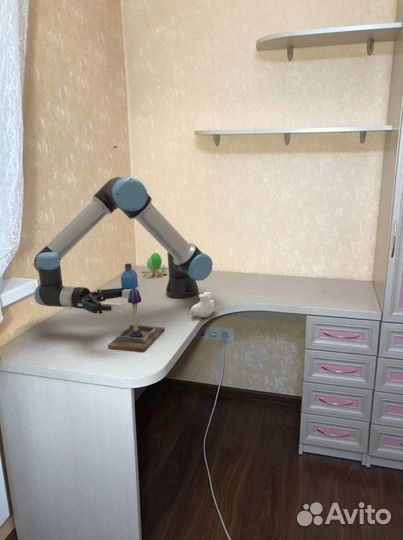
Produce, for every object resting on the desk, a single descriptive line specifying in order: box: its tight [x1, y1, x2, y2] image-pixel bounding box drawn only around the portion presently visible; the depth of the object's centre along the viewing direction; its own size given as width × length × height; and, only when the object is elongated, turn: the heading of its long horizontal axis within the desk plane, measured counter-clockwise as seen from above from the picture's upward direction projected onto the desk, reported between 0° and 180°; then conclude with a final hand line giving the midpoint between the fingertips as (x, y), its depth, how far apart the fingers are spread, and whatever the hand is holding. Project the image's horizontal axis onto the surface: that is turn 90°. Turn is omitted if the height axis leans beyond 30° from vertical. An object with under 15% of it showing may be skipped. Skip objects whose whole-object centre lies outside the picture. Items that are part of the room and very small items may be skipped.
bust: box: [189, 291, 216, 318], centre depth 160 cm, size 12×8×11 cm
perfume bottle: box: [120, 263, 139, 289], centre depth 200 cm, size 6×6×12 cm
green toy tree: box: [146, 252, 169, 279], centre depth 220 cm, size 15×14×14 cm
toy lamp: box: [127, 288, 142, 338], centre depth 140 cm, size 5×5×17 cm
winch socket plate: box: [107, 324, 165, 353], centre depth 142 cm, size 18×13×3 cm
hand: (130, 301), depth 139 cm, fingers open, 13 cm apart
